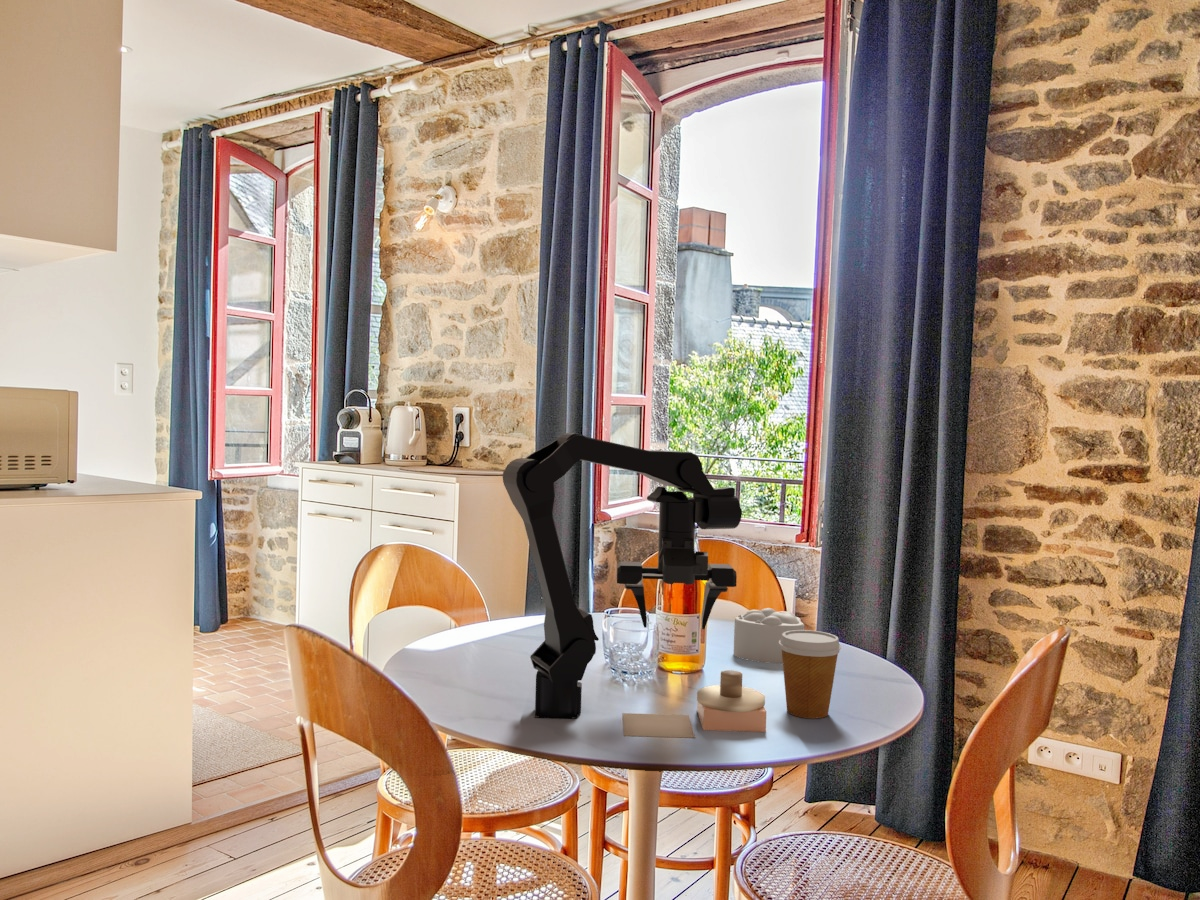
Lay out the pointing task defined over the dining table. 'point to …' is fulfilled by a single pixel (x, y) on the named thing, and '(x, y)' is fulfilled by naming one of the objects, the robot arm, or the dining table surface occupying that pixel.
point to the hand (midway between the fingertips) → (674, 627)
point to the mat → (657, 725)
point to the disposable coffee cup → (809, 671)
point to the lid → (731, 695)
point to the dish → (732, 719)
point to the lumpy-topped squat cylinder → (763, 634)
